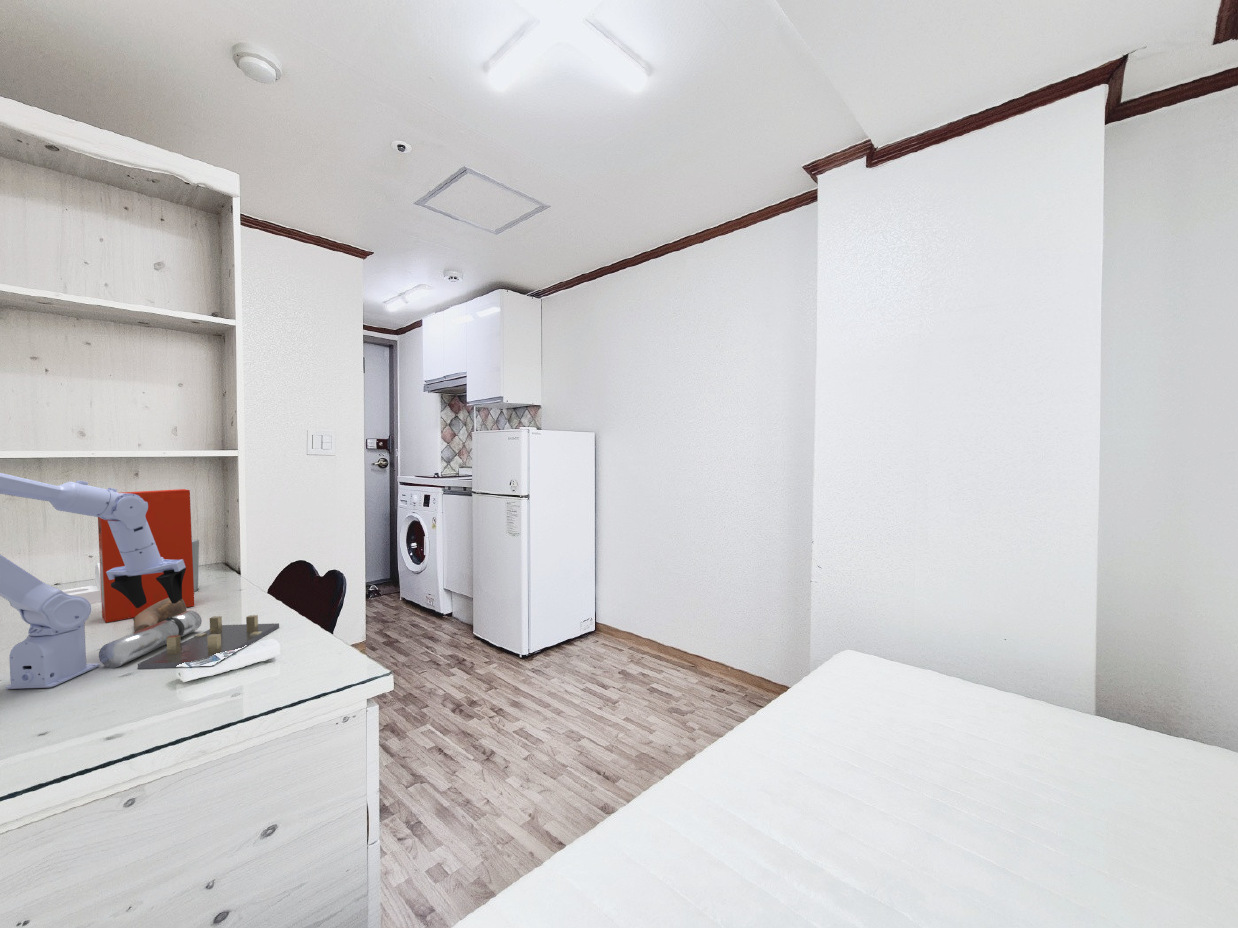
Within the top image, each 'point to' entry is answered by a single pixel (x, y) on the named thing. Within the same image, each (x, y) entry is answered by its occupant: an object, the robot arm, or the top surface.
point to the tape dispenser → (89, 589)
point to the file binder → (172, 541)
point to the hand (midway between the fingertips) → (159, 603)
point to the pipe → (158, 613)
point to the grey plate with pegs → (209, 642)
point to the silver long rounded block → (148, 639)
